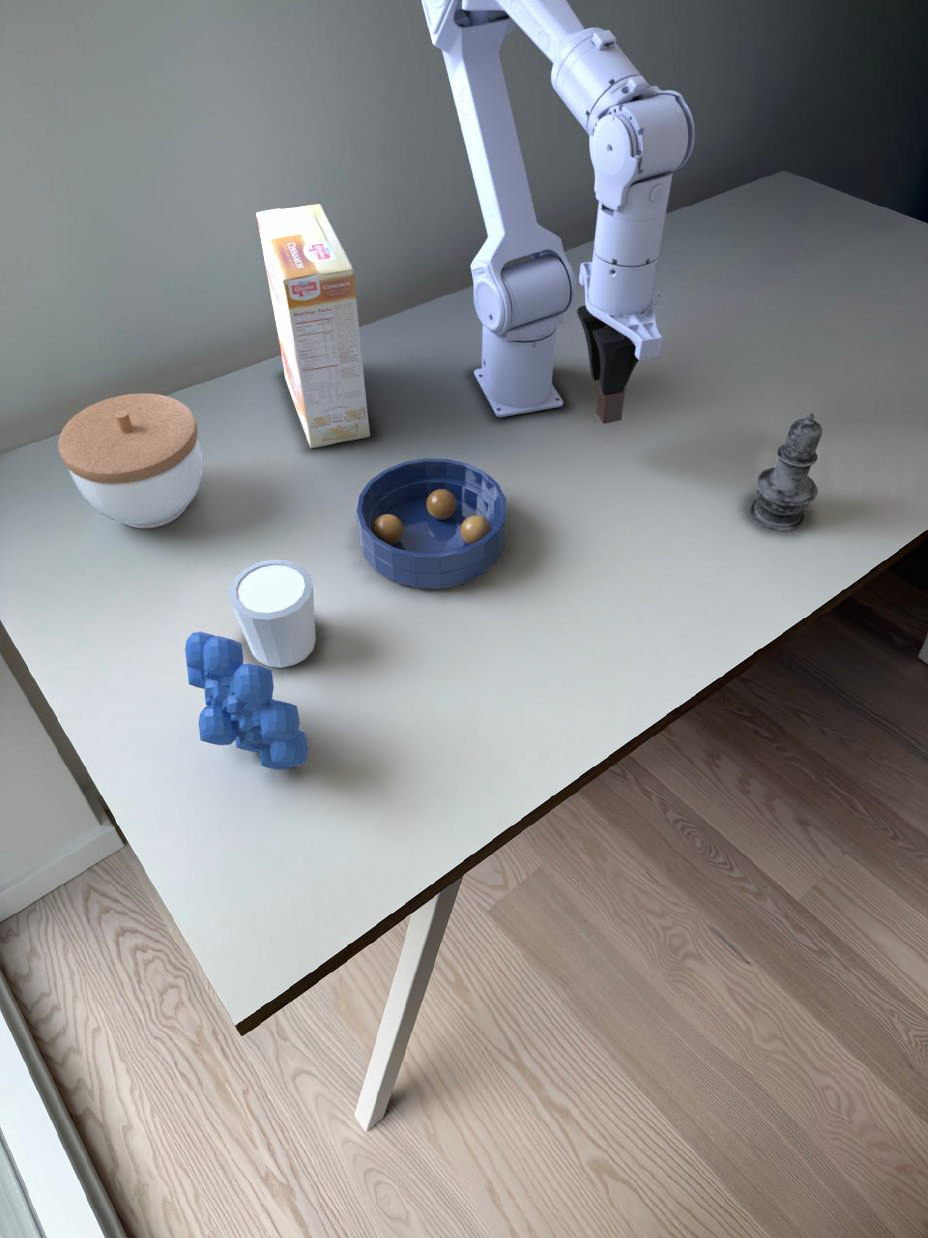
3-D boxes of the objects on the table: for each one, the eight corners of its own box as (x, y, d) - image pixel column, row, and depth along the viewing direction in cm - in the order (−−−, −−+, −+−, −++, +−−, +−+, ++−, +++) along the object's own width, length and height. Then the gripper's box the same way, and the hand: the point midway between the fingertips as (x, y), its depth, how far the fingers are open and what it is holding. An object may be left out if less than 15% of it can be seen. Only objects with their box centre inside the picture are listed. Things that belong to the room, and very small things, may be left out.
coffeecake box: (283, 376, 106) (253, 210, 91) (341, 365, 107) (322, 201, 93) (308, 450, 96) (280, 279, 82) (372, 437, 98) (355, 267, 83)
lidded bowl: (238, 480, 93) (216, 389, 85) (173, 560, 85) (142, 468, 77) (133, 455, 96) (102, 365, 88) (62, 530, 88) (20, 439, 80)
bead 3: (453, 522, 86) (480, 531, 87) (454, 547, 85) (481, 556, 86) (470, 505, 84) (496, 514, 85) (471, 530, 82) (498, 539, 84)
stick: (596, 413, 92) (603, 325, 84) (614, 409, 92) (623, 321, 84) (603, 424, 90) (611, 336, 83) (621, 420, 91) (631, 332, 83)
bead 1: (388, 520, 87) (366, 513, 85) (410, 516, 85) (389, 508, 83) (386, 550, 87) (364, 543, 85) (409, 546, 85) (387, 539, 83)
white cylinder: (246, 616, 80) (231, 560, 75) (323, 611, 81) (313, 555, 76) (240, 676, 76) (224, 621, 71) (321, 670, 76) (311, 616, 71)
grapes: (169, 743, 71) (126, 647, 62) (233, 690, 75) (201, 592, 66) (268, 825, 66) (237, 734, 57) (332, 765, 70) (312, 670, 61)
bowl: (348, 507, 90) (343, 472, 87) (480, 482, 93) (481, 447, 89) (378, 605, 81) (374, 570, 78) (524, 574, 84) (526, 539, 80)
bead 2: (429, 502, 90) (434, 478, 87) (457, 511, 89) (463, 488, 87) (420, 519, 88) (424, 496, 85) (449, 529, 87) (454, 506, 85)
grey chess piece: (808, 536, 87) (848, 436, 78) (747, 529, 88) (780, 428, 79) (805, 498, 91) (842, 398, 82) (746, 491, 92) (777, 391, 83)
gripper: (705, 284, 74) (676, 420, 84) (635, 210, 83) (616, 340, 94) (626, 296, 73) (606, 432, 83) (564, 219, 82) (553, 351, 92)
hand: (607, 384), depth 88 cm, fingers closed on stick, 2 cm apart
